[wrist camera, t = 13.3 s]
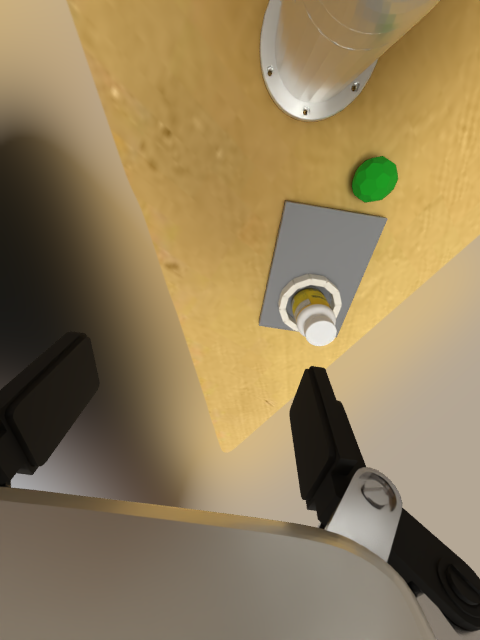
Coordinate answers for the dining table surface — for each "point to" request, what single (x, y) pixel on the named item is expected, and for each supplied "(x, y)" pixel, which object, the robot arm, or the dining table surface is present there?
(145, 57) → the dining table surface
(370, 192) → the polyhedron
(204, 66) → the dining table surface
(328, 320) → the supplement bottle
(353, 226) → the pin board
